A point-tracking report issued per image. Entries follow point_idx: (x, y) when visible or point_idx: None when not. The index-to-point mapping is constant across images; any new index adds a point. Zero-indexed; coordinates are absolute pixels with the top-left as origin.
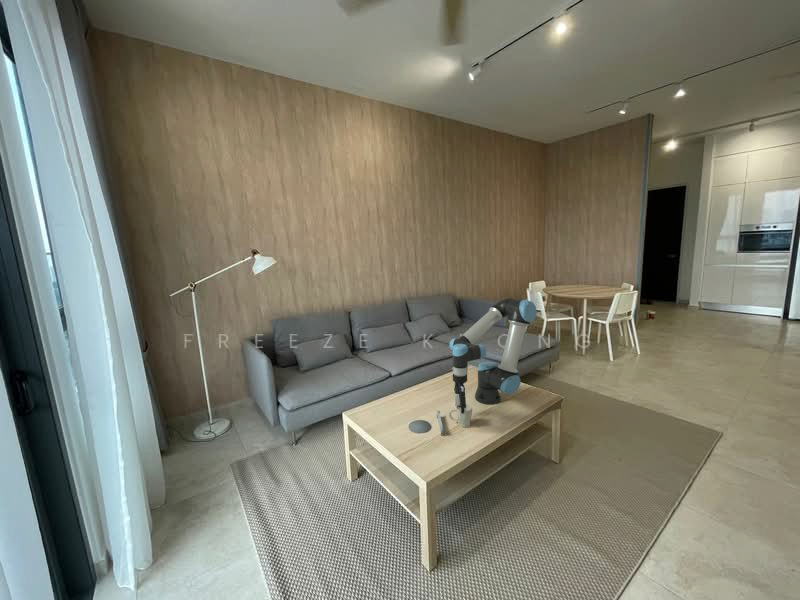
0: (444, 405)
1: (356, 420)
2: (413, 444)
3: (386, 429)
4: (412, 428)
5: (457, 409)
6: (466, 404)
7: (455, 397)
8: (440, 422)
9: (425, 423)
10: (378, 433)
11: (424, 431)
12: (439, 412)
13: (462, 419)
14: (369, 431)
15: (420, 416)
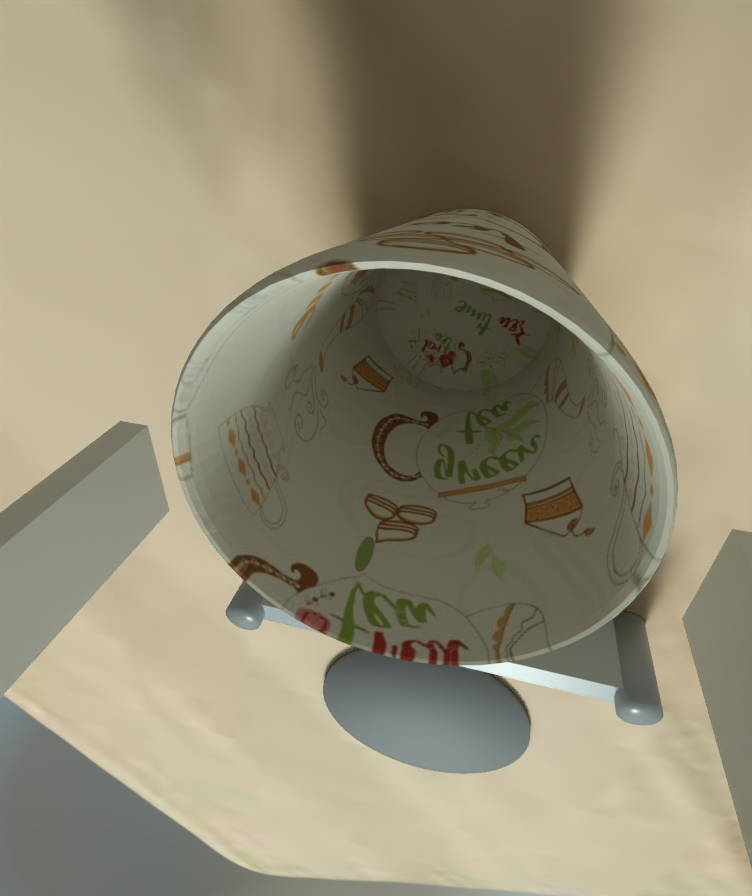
0: (5, 417)
1: (310, 873)
2: (674, 813)
3: (421, 835)
4: (448, 759)
5: (454, 651)
6: (201, 376)
7: (25, 661)
8: (487, 666)
9: (384, 675)
10: (459, 867)
11: (520, 722)
12: (256, 604)
13: (559, 452)
14: (428, 879)
15: (257, 657)
